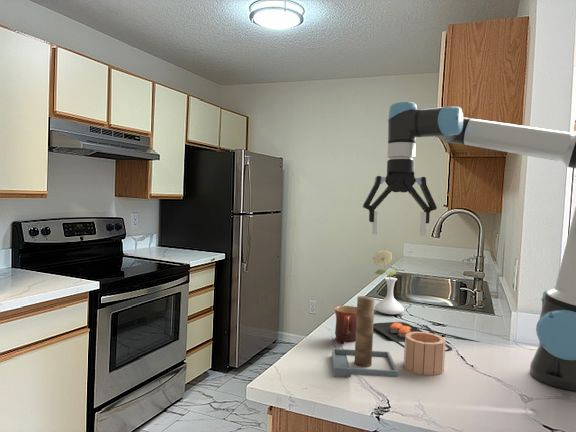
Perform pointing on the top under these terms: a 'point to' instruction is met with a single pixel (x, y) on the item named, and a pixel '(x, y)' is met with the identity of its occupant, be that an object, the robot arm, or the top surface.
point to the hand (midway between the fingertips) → (398, 234)
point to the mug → (345, 323)
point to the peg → (364, 331)
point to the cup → (424, 353)
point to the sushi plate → (405, 331)
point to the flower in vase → (388, 302)
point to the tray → (343, 368)
